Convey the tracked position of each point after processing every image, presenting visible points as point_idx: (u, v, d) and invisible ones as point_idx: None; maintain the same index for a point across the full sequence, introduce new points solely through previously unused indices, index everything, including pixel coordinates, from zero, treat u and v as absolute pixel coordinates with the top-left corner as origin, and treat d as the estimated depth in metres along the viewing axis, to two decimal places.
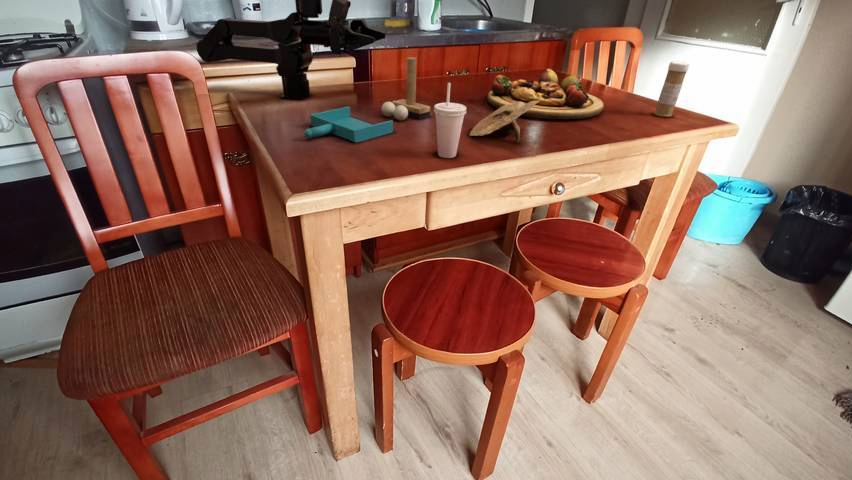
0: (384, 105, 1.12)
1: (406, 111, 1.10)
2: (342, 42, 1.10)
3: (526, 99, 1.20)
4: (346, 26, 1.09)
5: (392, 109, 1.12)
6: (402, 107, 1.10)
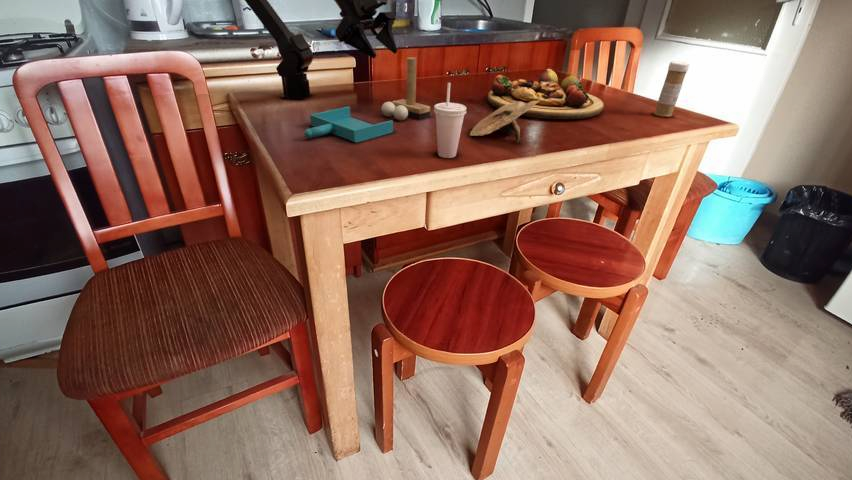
0: (384, 105, 1.12)
1: (406, 111, 1.10)
2: (347, 35, 1.07)
3: (526, 99, 1.20)
4: (361, 26, 1.06)
5: (392, 109, 1.12)
6: (402, 107, 1.10)
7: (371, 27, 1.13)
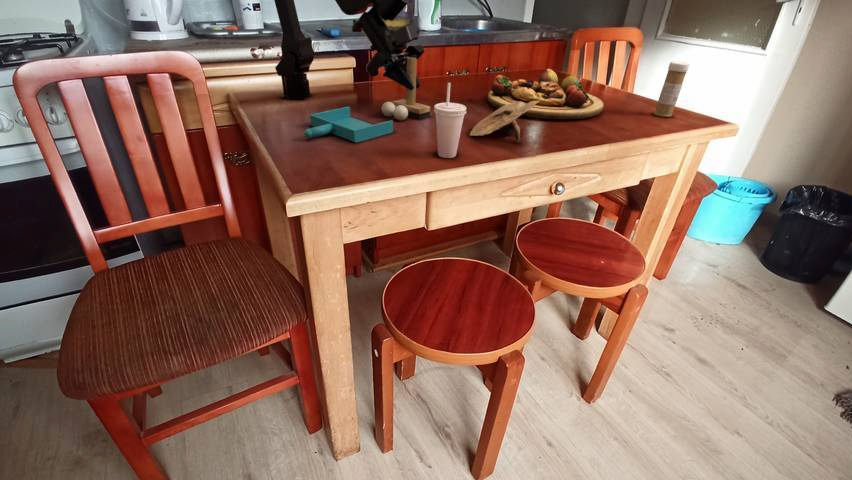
0: (384, 105, 1.12)
1: (406, 111, 1.10)
2: (387, 68, 1.09)
3: (526, 99, 1.20)
4: (400, 60, 1.08)
5: (392, 109, 1.12)
6: (402, 107, 1.10)
7: None
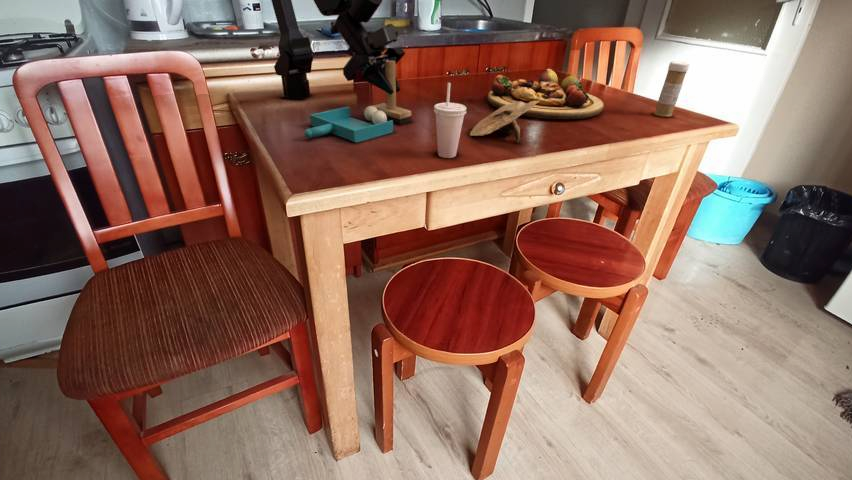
0: None
1: None
2: (365, 72, 1.05)
3: (526, 99, 1.20)
4: (379, 63, 1.04)
5: None
6: None
7: None
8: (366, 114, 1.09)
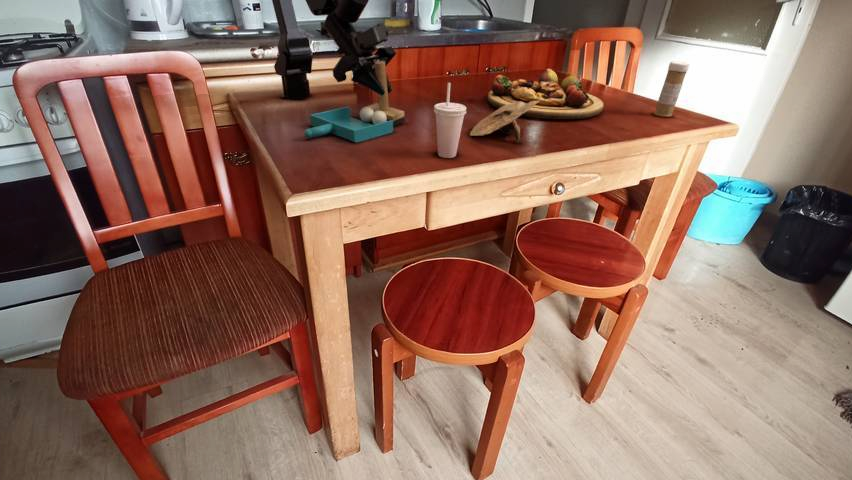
0: None
1: None
2: (355, 72, 1.03)
3: (526, 99, 1.20)
4: (369, 64, 1.02)
5: None
6: None
7: None
8: (363, 120, 1.09)
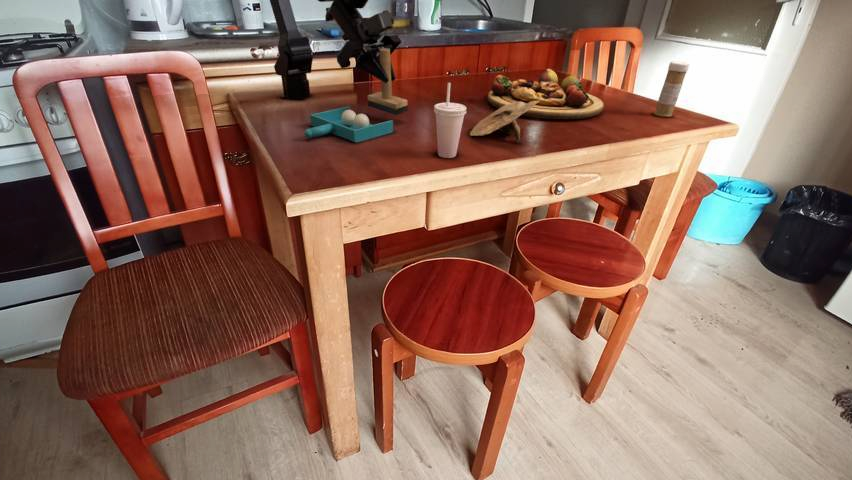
0: (342, 120, 1.05)
1: (364, 120, 1.02)
2: (359, 59, 1.02)
3: (526, 99, 1.20)
4: (373, 51, 1.01)
5: (351, 119, 1.04)
6: (358, 120, 1.02)
7: None
8: (354, 112, 1.06)
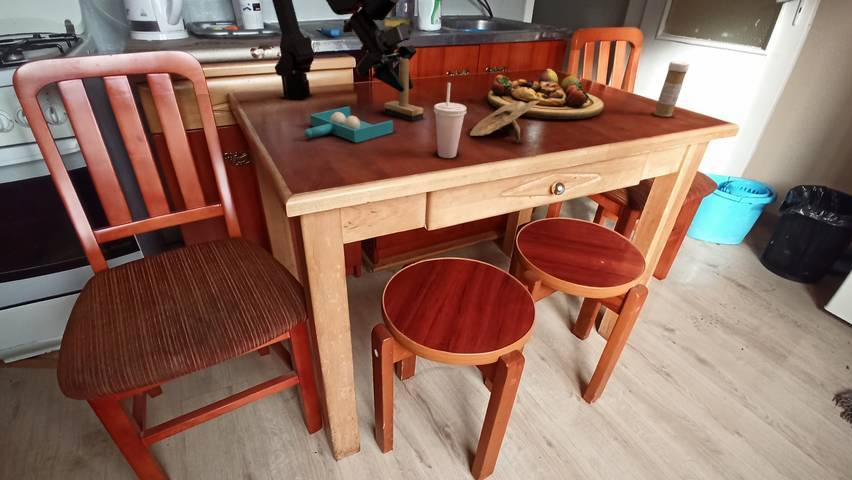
0: None
1: (354, 127, 1.00)
2: (376, 69, 1.07)
3: (526, 99, 1.20)
4: (390, 61, 1.06)
5: (343, 123, 1.03)
6: None
7: (392, 61, 1.11)
8: (333, 115, 1.02)
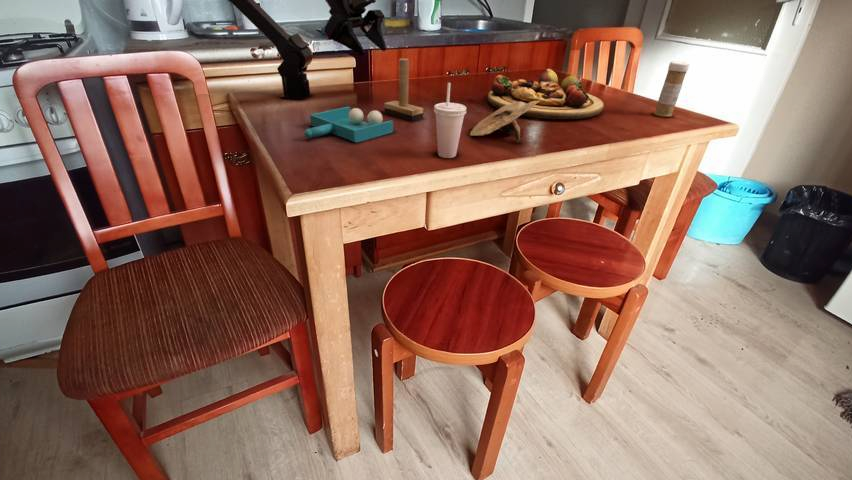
0: (352, 110, 1.06)
1: (381, 120, 1.06)
2: (336, 32, 1.08)
3: (526, 99, 1.20)
4: (349, 24, 1.07)
5: (360, 115, 1.06)
6: None
7: (360, 25, 1.15)
8: None
